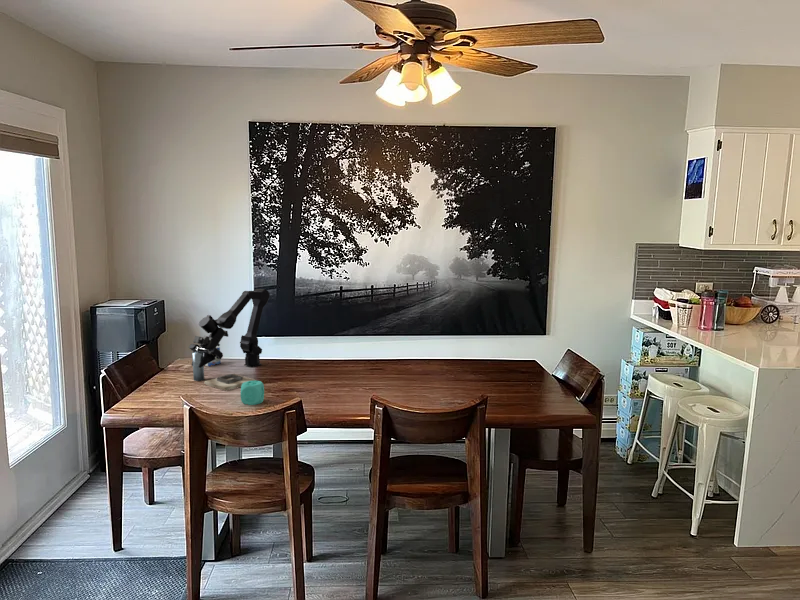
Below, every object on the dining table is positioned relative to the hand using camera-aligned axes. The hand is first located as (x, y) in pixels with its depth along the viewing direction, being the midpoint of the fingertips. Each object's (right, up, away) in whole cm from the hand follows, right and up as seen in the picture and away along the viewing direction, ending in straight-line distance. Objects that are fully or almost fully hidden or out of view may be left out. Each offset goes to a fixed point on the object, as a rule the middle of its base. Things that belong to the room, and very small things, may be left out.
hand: (195, 366), depth 275 cm
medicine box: (-2, -3, +30) cm, 30 cm away
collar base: (+17, -7, -5) cm, 19 cm away
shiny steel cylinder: (+1, -6, +2) cm, 7 cm away
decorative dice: (+34, -11, -31) cm, 48 cm away
